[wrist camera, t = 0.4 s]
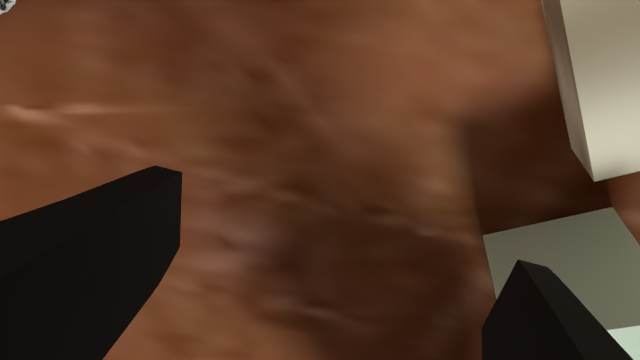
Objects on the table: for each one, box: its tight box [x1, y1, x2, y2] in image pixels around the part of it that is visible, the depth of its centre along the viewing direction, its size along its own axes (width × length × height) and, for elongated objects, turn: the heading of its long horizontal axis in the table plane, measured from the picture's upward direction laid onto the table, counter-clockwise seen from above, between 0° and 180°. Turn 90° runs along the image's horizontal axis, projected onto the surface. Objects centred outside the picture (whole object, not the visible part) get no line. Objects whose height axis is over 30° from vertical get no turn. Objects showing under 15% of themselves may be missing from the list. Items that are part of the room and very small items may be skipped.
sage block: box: [483, 207, 640, 360], centre depth 17 cm, size 5×5×6 cm
